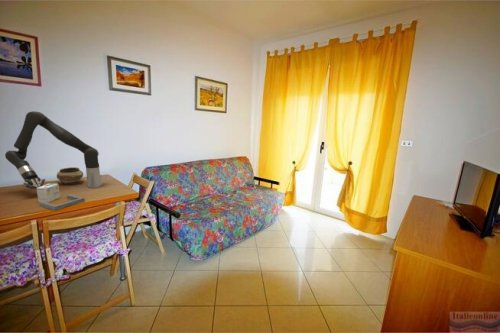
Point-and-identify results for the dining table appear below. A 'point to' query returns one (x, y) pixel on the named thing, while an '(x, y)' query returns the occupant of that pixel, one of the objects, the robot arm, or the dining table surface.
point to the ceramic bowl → (70, 175)
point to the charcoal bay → (63, 205)
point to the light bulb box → (48, 192)
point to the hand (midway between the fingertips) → (40, 191)
